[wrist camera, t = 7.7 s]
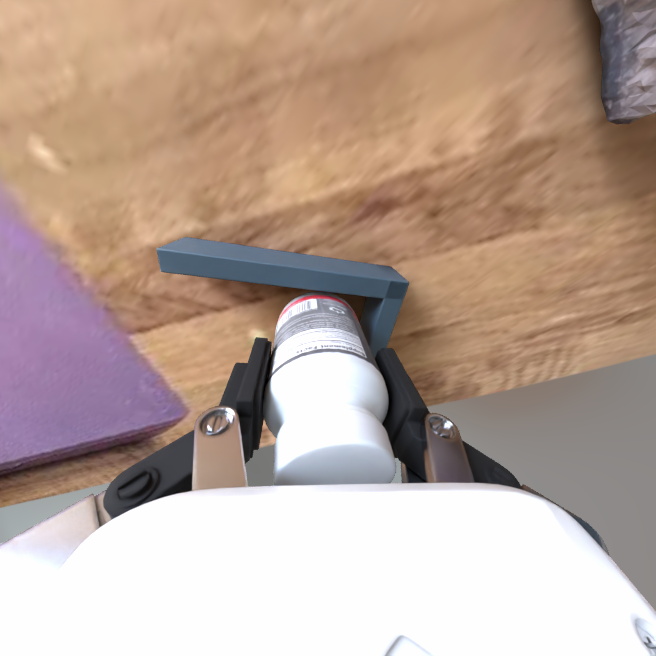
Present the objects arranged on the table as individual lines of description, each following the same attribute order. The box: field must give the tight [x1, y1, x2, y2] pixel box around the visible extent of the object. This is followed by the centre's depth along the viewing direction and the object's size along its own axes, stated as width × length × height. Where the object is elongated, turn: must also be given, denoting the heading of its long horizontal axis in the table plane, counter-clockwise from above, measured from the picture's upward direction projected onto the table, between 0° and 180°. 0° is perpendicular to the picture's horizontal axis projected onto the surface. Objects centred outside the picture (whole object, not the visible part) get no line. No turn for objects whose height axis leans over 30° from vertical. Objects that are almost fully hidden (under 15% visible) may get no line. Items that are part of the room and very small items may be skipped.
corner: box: [157, 237, 409, 359], centre depth 16 cm, size 13×12×3 cm
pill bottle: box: [263, 292, 396, 486], centre depth 11 cm, size 5×5×10 cm
